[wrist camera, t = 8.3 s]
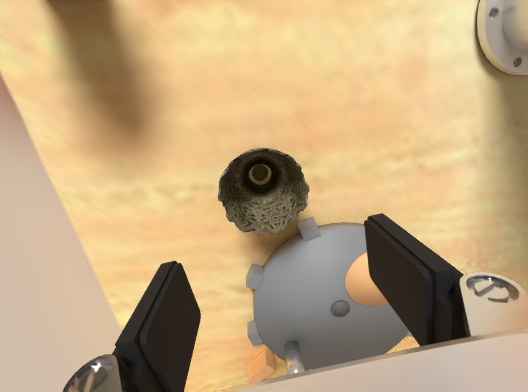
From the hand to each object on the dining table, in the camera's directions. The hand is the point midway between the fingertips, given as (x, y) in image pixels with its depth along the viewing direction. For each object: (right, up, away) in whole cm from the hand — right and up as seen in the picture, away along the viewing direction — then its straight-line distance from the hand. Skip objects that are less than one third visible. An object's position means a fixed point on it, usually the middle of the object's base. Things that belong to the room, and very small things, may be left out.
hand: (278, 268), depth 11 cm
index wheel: (+9, -10, +23) cm, 27 cm away
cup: (-1, +6, +17) cm, 18 cm away
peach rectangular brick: (-1, -21, +26) cm, 34 cm away
